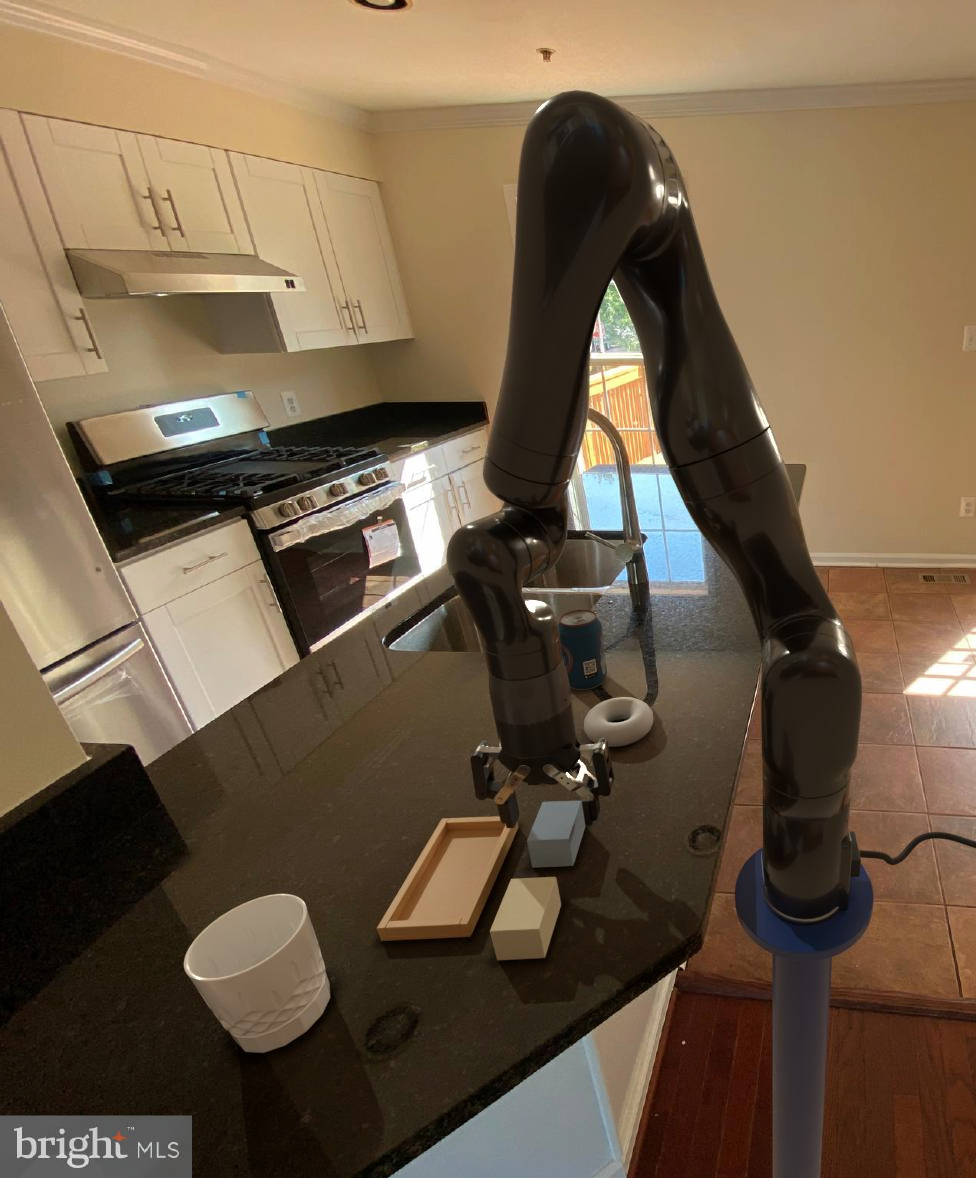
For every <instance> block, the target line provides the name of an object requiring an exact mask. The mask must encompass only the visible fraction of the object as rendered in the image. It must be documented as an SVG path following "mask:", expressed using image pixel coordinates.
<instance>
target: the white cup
mask: <svg viewBox="0 0 976 1178" xmlns="http://www.w3.org/2000/svg"><path fill="white" fill-rule="evenodd" d="M321 951H322V950H321V948H320V943H319V940H318V938H317V934H316V932H315V929H314V926H313V922H312V920H311V917H310V914H309V911H308V907H307V905H306V902H305V900H303V899H302V898H300V897H299V896H297V895H294V894H289V893H275V894H274V893H273V894H269V895H264V896H261V897H257V898H254V899H252V900H249V901H246V902H243V903H242V904H240V905H238V906H236V907H234V908H232V909H231V910H228V911H227V912H226V913H223V914H222V915H220V916H219V917H217V918H216V919H215V920H214V921H212V922H211V923H210V924H209V925H208V926H206V927H205V928H204V929H202V931H201V932H200V933H199V934H198V935H197V936H196V938H195V939H194V940H193V941H192V943H191V944H190V946H189V947H188V949H187V951H186V953H185V955H184V959H183V969H184V972H185V974H186V975H187V977H188V978H189V979H190V981H191V982H192V984H193V986H194V987H195V988H196V990H197V992H198V993H199V994H200V996H201V998H202V999H203V1001H204V1002H205V1004H206V1005H207V1007H208V1008H209V1010H211V1012H212V1013H213V1015H214V1016H215V1017H216V1019H217V1020H218V1021H219V1023H220V1024H221V1026H222V1027H223V1028H224V1030H225V1031H227V1032H229V1034H230V1035H231V1037H232V1038H233V1039H234V1041H235V1043H236V1045H238V1046H239V1047H240V1048H241V1049H242V1050H243V1051H244V1052H245V1053H258V1054H265V1053H267V1052H270V1051H273V1050H276V1049H279V1048H282V1047H285V1046H287V1045H288V1044H290V1043H291V1042H293V1041H295V1040H296V1039H297V1038H299V1037H301V1036H302V1035H304V1034H305V1033H306V1032H308V1031H309V1029H310V1028H312V1026H313V1025H314V1024H315V1023H316V1022H317V1021H318V1020H319V1019H320V1018H321V1017H322V1016H323V1014H324V1012H325V1010H326V1009H327V1008H326V1007H327V1006H328V1003H329V1002H330V1000H331V984H330V981H329V978H328V974H327V972H326V965H325V962H324V957H323V955H322V952H321Z"/></svg>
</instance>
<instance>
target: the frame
mask: <svg viewBox="0 0 976 1178" xmlns="http://www.w3.org/2000/svg"><path fill="white" fill-rule="evenodd" d="M518 829H519V822H518V821H517V823H516V825H515V827H514V828H507V827H506V824H503V823H502V822H501V821H500V816H499V815H497V816H471V817H470V816H469V817H446V818H441V820H440V821H439V823H438V825H437V826H436V828H435V829H434V831H433V833H432V835H431V836H430V838H429V839H428V841H427V843H426V845H425V847H424V848H423V849H422V851H421V853H420V855H419V857H418V858H417V860H416V861H415V863H414V864H413V866H412V868H411V870H410V872H409V873H408V875H407V877H406V878H405V880H404V882H402V883H403V884H402V885H401V886H400V888H399V890H398V892H397V894H396V895H395V897H394V899H393V900H392V901H391V903H390V904H389V907H388V909H387V910H386V912H385V914H384V915H383V917H382V919H381V920H380V922H379V923H378V925H377V927H376V931H377V934H378V936H379V939H380V941H381V942H389V941H409V940H410V941H411V940H429V939H449V938H450V939H451V938H469V937H470V938H471V937H472V935H473V933H474V930H475V928H476V926H477V923H478V921H479V919H480V916H481V914H482V912H483V910H484V908H485V905H486V903H487V901H488V899H489V896H490V894H491V891H492V889H493V887H494V885H495V882H496V880H497V877H498V875H499V873H500V871H501V868H502V866H503V864H504V862H505V859H506V857H507V854H508V853H509V850H510V848H511V846H512V843H513V842H514V838H515V836H516V834H517V832H518Z"/></svg>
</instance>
